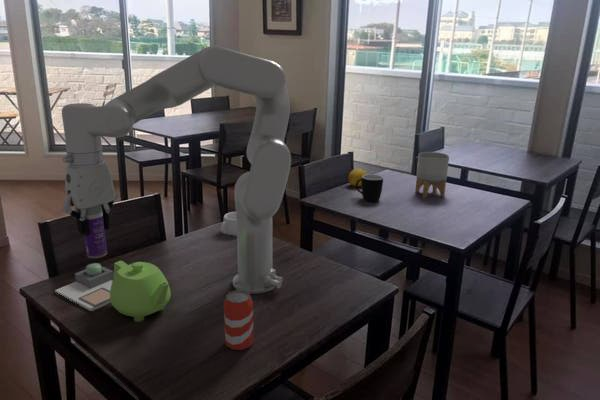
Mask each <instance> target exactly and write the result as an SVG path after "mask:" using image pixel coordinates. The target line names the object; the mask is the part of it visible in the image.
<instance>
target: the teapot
mask: <svg viewBox="0 0 600 400" xmlns="http://www.w3.org/2000/svg"><path fill="white" fill-rule="evenodd" d="M113 265H114V266H113V274H114V279H112V281H113V282H112V285H111V289H110V301H111V303H110V304H111V305H112V306H113V308H114V309H115V310H116V311H118V313H119V314H122V315H125V316H128V317H132V318H133V321H134V322H136V323H137V322H139V323H140V322H143V321H144V320H146V319H145V318H146V317H147V316H149V315H152V314H154V313H156V312H160V311H164V310H165V309H166V306H167V304H168V303H169V301H170V300H171V296H172V293H171V292H172V291H171V287H170V284H169V282H168V280H167V279H166V277H165V275H164V274H163V272H162V271H161V269H160V268H159V267H158V266H156V265H155V264H152V263H150V262H145V261H144V262H143V261H136V262H132V263H130V264H127V263H126V262H124V261H123V260H119V261H116V262H114V264H113Z"/></svg>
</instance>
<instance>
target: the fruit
mask: <svg viewBox="0 0 600 400" xmlns="http://www.w3.org/2000/svg"><path fill="white" fill-rule="evenodd" d="M367 174H368V173H367V172H366V171H365V170H364V169H362V168H355V169H352V170H351V171H350V172H349V173H348V182H349V184H350V185H351V186H353V187H355V188H356V182H357V181H358V180H359V179H362V176H363V175H367ZM359 187H362V181H359V182H358V188H359Z"/></svg>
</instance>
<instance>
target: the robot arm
mask: <svg viewBox="0 0 600 400" xmlns="http://www.w3.org/2000/svg"><path fill="white" fill-rule="evenodd" d="M286 79H287V77H286V73H285V71H284V69H283V67H282V66H281V65H280V64H278V63H277V62H276V61H273V60H269V59H266V58H261V57H258V56H255V55H251V54H247V53H245V52H240V51H237V50H233V49H231V48H228V47H225V46H223V45H222V46H220V45H208V46H206V47H204V48H202V49H200V50H199V51H197V52H195V53H193V54H191V55H189V56H188V57H186V58H184V59H182V60H180V61H179V62H177V63H175V64H174V65H172V66H170V67H168V68H166V69H164V70H162V71H159V73H157V74H155V75H154V76H152V77H151V78H149V79H147V80H146V81H144V82H142V83H141V84H138V85H136V86H135V87H132V88H130V89H128V90H127V91H126V92H123V93H122V94H119V95H118V96H117V97H115V98H113V99H111V100H110V101H108V102H106V104H104V105H100V106H97V105H94V104H93V103H85V102H78V103H70V104H69V103H68V104H66V105H64V106H62V107H61V108H62V109H61V118H62V125H63V132H64V139H65V140H64V141H65V148H66V154H65V155H66V156H63V157H62V162H63V164H64V163H65V164H67V165H66V167H65V176H64V177H65V179H64V181H65V182H64V184H65V185H64V186H65V197H66V198H65V201H64V202H63V204H62V207H61V208H60V211H61V212H62V213H65V214H66V215H69V216H71V217H73V218H74V219H75V220H76V225H77V226H76V227H77V232H79V234H80V235H83V236H84V235H85V236H88V235H89V227H88V220H86V219H85V215H86V209H88V208H92V207H95V206H99V205H102V212H103V220H104V229H105V230H110V226H109V225H110V219H109V218H110V217H109V213H110V212H111V208H112V206H113V205H114V203H115V202H116V201H117V200H118V199H119V194H118V193H117V192H116V191H115V187H114V181H113V177H112V173H111V169H110V167H109V164H108V162H107V160H104V156H103V155H104V153H103V146H102V144H103V143H102V137H105V138H114V139H115V138H123V137H126V136H127V135H129V134H130V133H131V131H132V130H133V127H134V125H136V124H137V123H139V122H140V121H142V120H145V119H146V118H147V117H149V116H151V115H153V114H155V113H157V112H159V111H163V110H165V109H166V110H167V109H173V108H177V107H179V106H182V105H184V104H185V103H187V102H188V101H189V102H190V100H192V99H193V98H196V97H197V96H199V95H201V94H203V93H205V92H206V91H208V90H210V89H211V88H213V87H215V86H218V87H221V88H224V89H227V90H230V91H235V92H239V93H241V94H247V95H251V96H254V98H255V104H256V105H255V107H256V109H255V114H254V115H255V116H254V119H253V124H252V129H251V132H250V136H249V140H248V143H247V146H246V158H247V160H248V162H249V163H250V165H251V166H250V168H249V169H250V170H249V171H246V172H244V173H243V174H241V175H240V176H239V177H238V179H237V181H236V182H235V184H234V191H233V193H234V204H235V212H236V219H237V236H236V250H237V251H236V252H237V274H236V275H234V276H233V278H232V286H233V288H234V289H235V290H244V291H246V292H248V293H249V294H250V295H251V294H252V295H257V294H264V293H267V292H270V291H273V290H274V289H275V288H276V289H280V288H281V287H282V284H283V283H282V282H283V280H284V278H283V277H282V276H278V275H277V272H276V271H277V270H276V268H273V266H274V265H273V228H274V227H273V216H274V215H276V213H277V212H278V210H279V208H280V206H281V204H282V201H283V197H284V194H285V190H286V186H287V182H288V179H289V175H290V172H291V171H290V170H291V165H292V155H291V151H290V149H289V148H288V146H287V145H286V143H285V138H286V134H287V129H288V124H289V122H290V121H289V119H290V114H291V98H290V95H289V90H288V88H287V85H286V82H287V80H286ZM72 207H74V209H72Z"/></svg>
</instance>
